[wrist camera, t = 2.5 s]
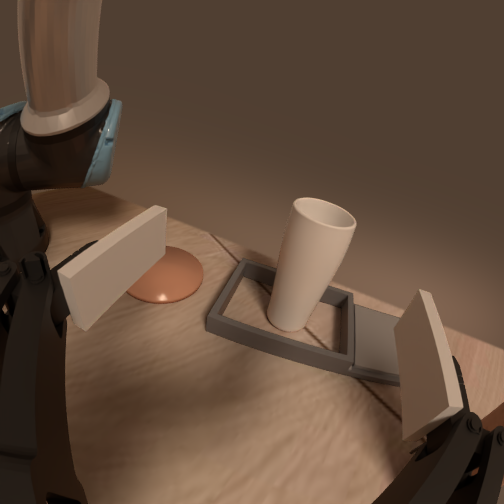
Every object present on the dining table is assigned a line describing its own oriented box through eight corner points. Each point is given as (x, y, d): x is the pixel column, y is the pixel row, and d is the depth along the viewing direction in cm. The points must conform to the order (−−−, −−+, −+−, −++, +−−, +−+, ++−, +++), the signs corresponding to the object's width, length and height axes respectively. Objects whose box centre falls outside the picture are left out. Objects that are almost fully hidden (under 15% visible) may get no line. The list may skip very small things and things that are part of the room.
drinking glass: (320, 331, 33) (370, 228, 25) (274, 344, 30) (318, 229, 22) (295, 296, 38) (330, 198, 30) (251, 304, 35) (280, 195, 27)
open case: (205, 330, 30) (207, 315, 28) (239, 271, 40) (242, 257, 39) (446, 393, 25) (457, 383, 24) (432, 331, 36) (440, 320, 34)
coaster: (101, 281, 32) (101, 278, 32) (149, 241, 42) (149, 237, 42) (177, 317, 30) (177, 313, 30) (216, 264, 40) (216, 261, 40)
